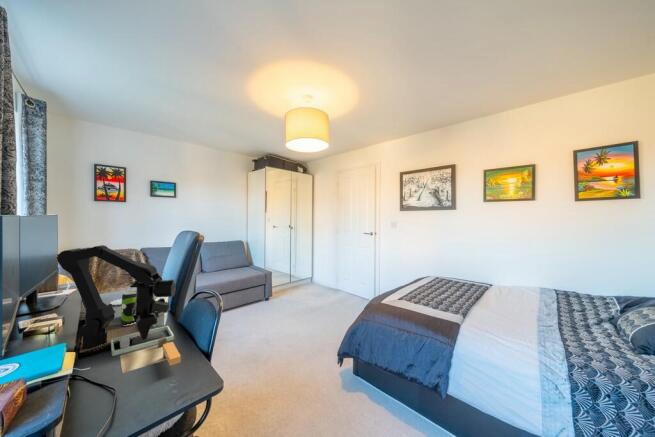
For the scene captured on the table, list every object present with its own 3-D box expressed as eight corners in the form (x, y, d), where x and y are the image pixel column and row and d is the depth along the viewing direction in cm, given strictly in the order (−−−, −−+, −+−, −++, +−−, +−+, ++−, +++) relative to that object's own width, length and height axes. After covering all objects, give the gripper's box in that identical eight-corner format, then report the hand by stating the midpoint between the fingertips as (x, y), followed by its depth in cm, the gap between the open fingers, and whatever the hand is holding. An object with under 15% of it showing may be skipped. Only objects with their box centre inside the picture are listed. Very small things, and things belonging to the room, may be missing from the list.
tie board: (122, 376, 78) (122, 365, 78) (119, 358, 87) (120, 348, 87) (179, 358, 89) (179, 348, 89) (171, 344, 98) (172, 335, 98)
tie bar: (169, 365, 78) (170, 359, 78) (162, 350, 87) (163, 344, 87) (180, 362, 80) (180, 356, 80) (172, 347, 89) (172, 341, 89)
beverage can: (136, 320, 119) (137, 289, 119) (138, 324, 115) (140, 292, 115) (119, 323, 114) (121, 292, 114) (121, 328, 110) (123, 295, 110)
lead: (120, 349, 92) (120, 341, 92) (120, 346, 94) (120, 338, 94) (163, 338, 101) (164, 331, 101) (162, 335, 104) (162, 328, 104)
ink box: (155, 320, 120) (156, 296, 120) (167, 318, 122) (168, 295, 122) (151, 327, 112) (152, 302, 112) (164, 326, 114) (165, 300, 114)
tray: (111, 358, 87) (112, 351, 87) (110, 345, 96) (110, 338, 96) (174, 341, 100) (174, 335, 100) (167, 331, 109) (168, 325, 109)
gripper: (173, 299, 97) (171, 338, 97) (164, 288, 110) (162, 323, 110) (138, 305, 89) (136, 348, 89) (132, 293, 103) (131, 329, 103)
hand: (143, 336), depth 98 cm, fingers open, 7 cm apart
